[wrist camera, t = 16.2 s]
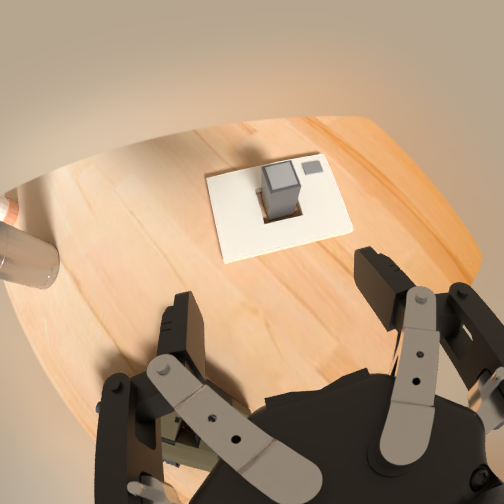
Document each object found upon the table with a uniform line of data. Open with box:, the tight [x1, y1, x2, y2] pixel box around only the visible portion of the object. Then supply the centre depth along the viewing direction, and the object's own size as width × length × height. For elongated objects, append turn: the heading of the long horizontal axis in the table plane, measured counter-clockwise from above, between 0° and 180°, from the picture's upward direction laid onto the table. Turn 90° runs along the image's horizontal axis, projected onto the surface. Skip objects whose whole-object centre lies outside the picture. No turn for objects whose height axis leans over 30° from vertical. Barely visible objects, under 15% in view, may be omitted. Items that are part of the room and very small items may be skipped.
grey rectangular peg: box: [261, 160, 301, 221], centre depth 37 cm, size 4×4×10 cm
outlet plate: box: [206, 154, 354, 264], centre depth 41 cm, size 20×14×2 cm
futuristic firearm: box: [96, 379, 251, 472], centre depth 32 cm, size 7×31×25 cm
